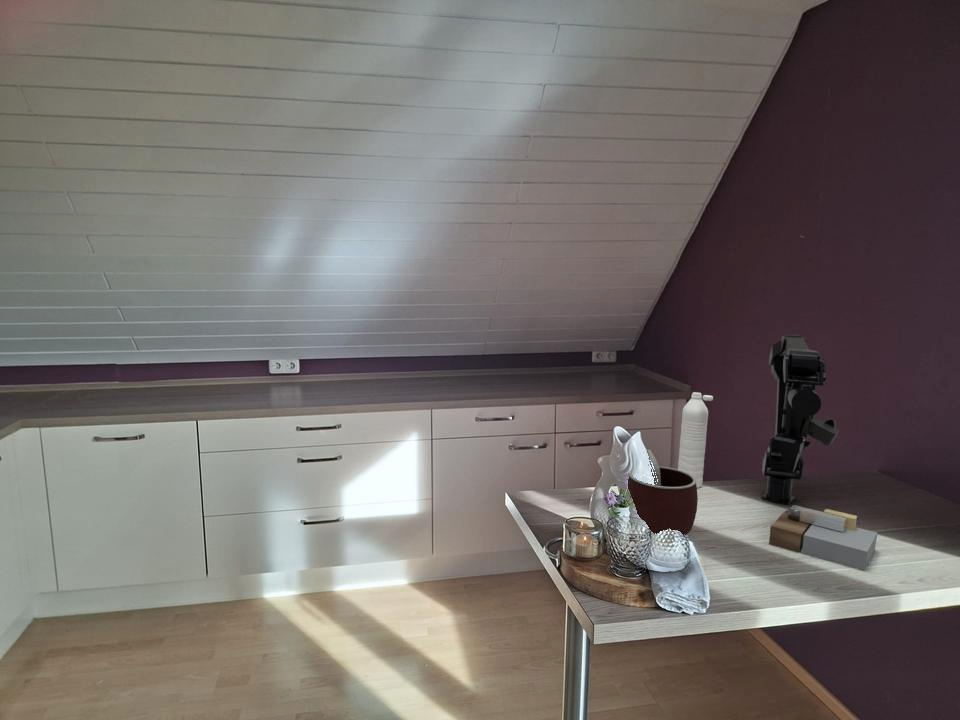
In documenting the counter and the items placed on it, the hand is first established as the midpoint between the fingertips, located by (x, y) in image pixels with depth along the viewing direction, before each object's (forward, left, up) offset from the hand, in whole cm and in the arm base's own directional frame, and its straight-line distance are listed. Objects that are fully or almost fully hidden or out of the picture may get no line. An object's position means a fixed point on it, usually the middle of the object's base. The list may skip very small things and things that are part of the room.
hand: (790, 472), depth 152 cm
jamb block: (+10, +4, -12) cm, 16 cm away
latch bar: (+8, +8, -8) cm, 13 cm away
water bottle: (-8, -25, -12) cm, 29 cm away
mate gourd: (+38, -15, -12) cm, 43 cm away
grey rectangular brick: (+10, +13, -12) cm, 20 cm away
